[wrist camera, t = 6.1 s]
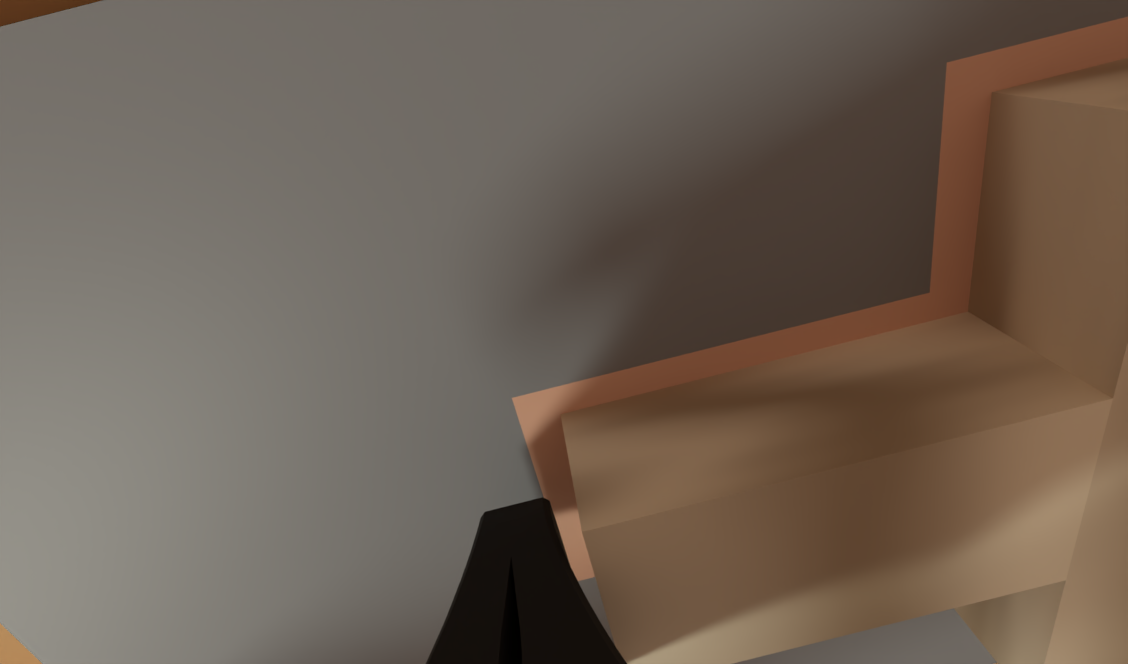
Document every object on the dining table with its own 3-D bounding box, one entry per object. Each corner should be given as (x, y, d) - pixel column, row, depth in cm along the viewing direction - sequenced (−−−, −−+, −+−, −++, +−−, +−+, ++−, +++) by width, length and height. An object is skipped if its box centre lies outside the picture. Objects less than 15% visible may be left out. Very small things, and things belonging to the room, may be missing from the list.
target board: (251, 811, 18) (238, 851, 17) (-391, 139, 9) (-490, 152, 8) (1160, 584, 18) (1195, 613, 17) (1507, -347, 8) (1624, -390, 8)
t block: (630, 664, 15) (660, 800, 13) (505, 215, 10) (511, 288, 7) (1091, 549, 15) (1220, 660, 12) (1237, 29, 10) (1524, 32, 7)
